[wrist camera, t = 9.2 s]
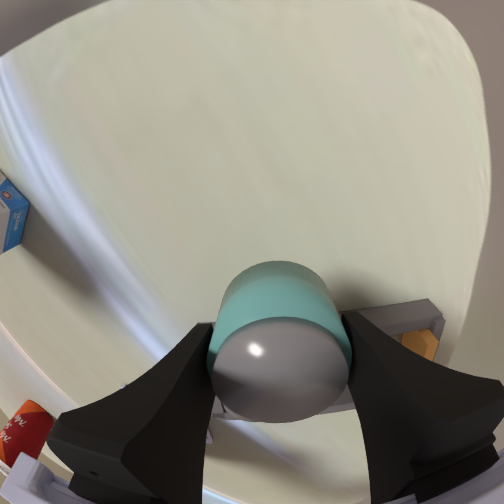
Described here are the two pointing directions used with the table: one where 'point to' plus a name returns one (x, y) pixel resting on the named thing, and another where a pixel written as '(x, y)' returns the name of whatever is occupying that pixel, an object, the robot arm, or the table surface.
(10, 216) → the ink box
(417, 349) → the plate
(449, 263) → the table surface
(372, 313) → the grey rectangular tray
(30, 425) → the coffee cup
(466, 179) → the table surface
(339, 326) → the teal jar
